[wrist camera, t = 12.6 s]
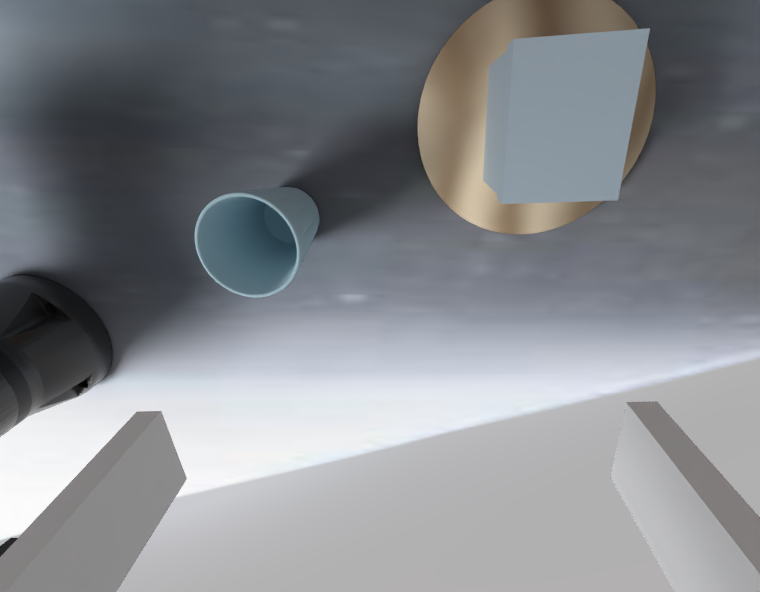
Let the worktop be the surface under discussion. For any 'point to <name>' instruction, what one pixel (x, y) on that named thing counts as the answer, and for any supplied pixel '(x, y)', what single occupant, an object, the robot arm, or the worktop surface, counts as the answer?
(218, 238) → the cup
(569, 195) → the grey slotted block
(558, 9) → the wooden disc
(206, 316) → the worktop surface
